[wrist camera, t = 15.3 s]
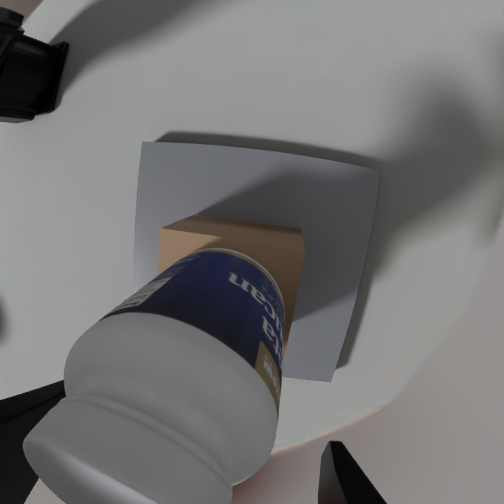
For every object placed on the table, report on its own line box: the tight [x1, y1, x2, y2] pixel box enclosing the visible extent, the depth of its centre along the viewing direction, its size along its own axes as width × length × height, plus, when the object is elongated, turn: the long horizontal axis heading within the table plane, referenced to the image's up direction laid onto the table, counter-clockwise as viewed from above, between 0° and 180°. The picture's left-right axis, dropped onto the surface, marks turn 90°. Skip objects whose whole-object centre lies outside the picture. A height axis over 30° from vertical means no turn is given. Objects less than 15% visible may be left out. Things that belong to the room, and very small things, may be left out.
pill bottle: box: [23, 248, 285, 504], centre depth 8 cm, size 5×5×10 cm
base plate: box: [134, 142, 381, 382], centre depth 18 cm, size 14×14×1 cm
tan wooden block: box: [158, 214, 306, 365], centre depth 15 cm, size 6×6×5 cm
